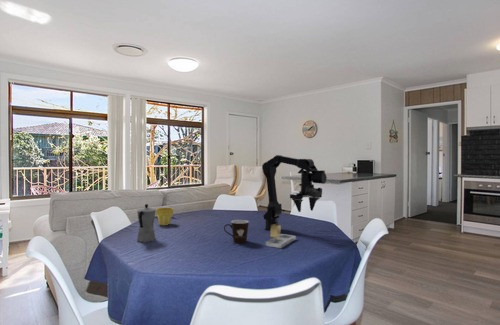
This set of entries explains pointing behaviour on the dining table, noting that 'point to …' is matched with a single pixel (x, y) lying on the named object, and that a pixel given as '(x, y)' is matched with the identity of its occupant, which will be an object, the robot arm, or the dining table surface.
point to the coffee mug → (239, 230)
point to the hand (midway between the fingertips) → (305, 211)
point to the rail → (280, 240)
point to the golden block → (275, 230)
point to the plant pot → (164, 215)
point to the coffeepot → (146, 224)
